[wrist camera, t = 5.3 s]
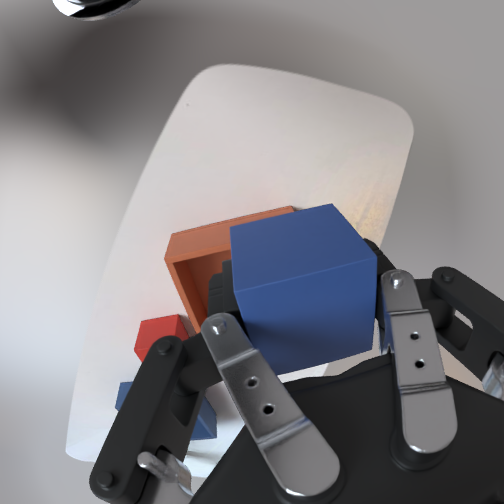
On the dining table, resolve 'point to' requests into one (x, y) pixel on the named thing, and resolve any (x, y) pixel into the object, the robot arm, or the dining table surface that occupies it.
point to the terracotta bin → (203, 260)
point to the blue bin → (205, 419)
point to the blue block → (304, 287)
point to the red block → (158, 332)
